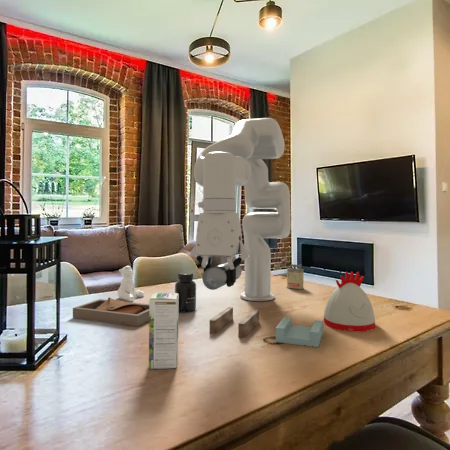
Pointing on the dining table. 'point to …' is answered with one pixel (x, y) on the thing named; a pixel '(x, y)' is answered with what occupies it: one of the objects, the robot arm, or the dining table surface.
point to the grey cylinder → (218, 276)
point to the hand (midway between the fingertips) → (219, 284)
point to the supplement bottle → (186, 292)
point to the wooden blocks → (227, 316)
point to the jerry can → (295, 277)
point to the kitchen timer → (349, 306)
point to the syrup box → (163, 330)
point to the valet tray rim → (110, 314)
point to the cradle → (299, 333)
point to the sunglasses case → (120, 307)
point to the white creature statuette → (128, 286)
